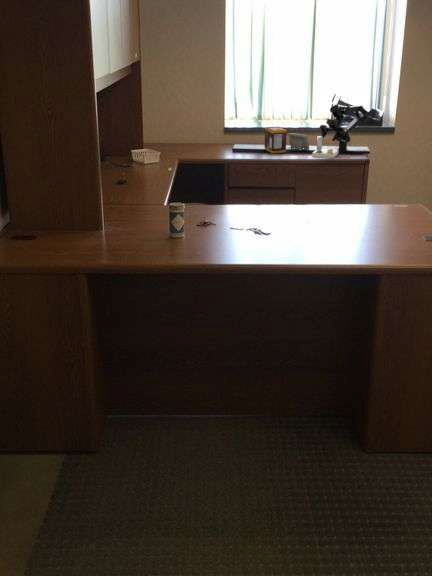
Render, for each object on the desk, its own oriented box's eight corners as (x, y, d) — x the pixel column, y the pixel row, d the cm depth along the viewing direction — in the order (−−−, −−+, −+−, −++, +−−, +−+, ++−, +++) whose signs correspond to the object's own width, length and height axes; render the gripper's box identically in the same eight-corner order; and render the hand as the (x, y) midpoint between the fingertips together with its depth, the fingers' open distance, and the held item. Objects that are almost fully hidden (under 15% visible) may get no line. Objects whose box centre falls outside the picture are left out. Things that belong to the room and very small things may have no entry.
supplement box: (277, 148, 454) (278, 126, 447) (286, 152, 440) (287, 129, 434) (264, 149, 451) (264, 127, 444) (272, 153, 437) (273, 130, 431)
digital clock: (310, 149, 449) (311, 134, 444) (301, 151, 444) (302, 136, 439) (294, 146, 460) (295, 131, 456) (285, 147, 455) (286, 132, 451)
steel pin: (316, 155, 431) (317, 136, 426) (321, 155, 431) (322, 136, 426) (316, 156, 428) (317, 137, 423) (321, 156, 428) (322, 137, 422)
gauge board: (317, 152, 441) (318, 144, 439) (338, 153, 436) (338, 146, 434) (312, 156, 428) (312, 149, 426) (333, 158, 423) (333, 150, 421)
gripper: (321, 112, 433) (311, 131, 431) (344, 115, 421) (333, 134, 419) (328, 122, 442) (317, 141, 439) (350, 126, 429) (339, 144, 427)
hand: (326, 140), depth 431 cm, fingers open, 9 cm apart
